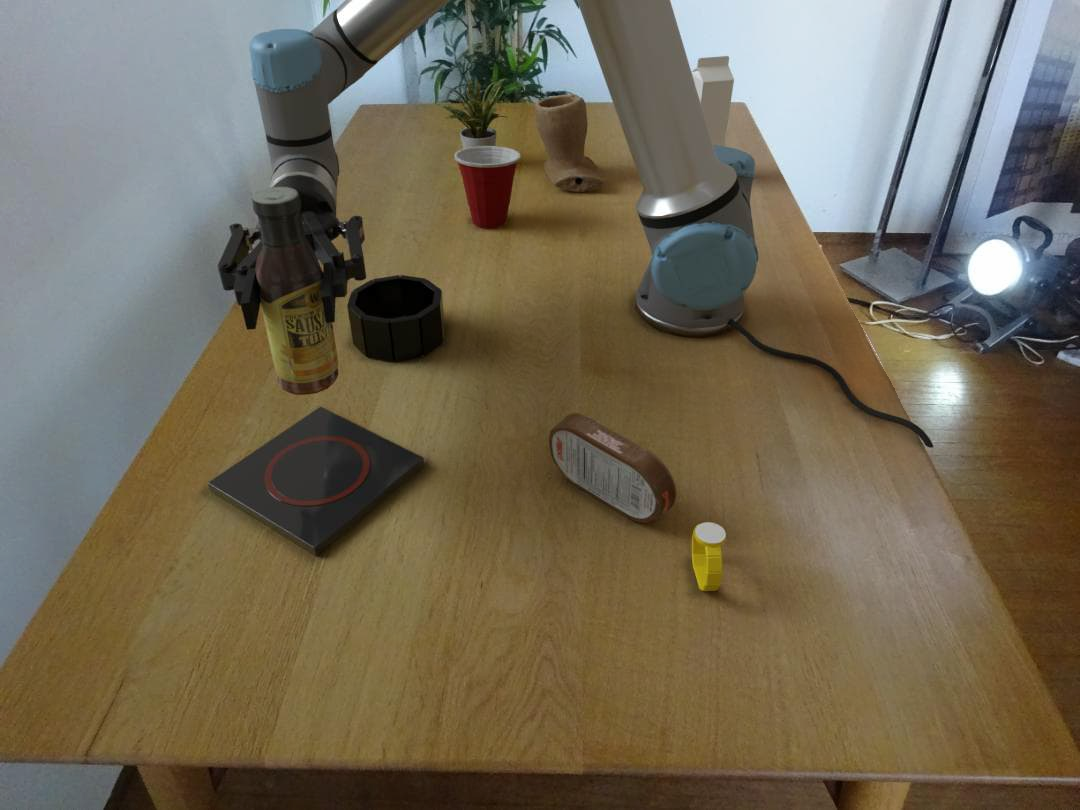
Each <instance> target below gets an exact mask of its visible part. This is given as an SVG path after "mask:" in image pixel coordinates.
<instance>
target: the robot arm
mask: <svg viewBox="0 0 1080 810" xmlns="http://www.w3.org/2000/svg"><path fill="white" fill-rule="evenodd" d="M451 1H452V0H345V1H343V2H342V3H340V5H339V6H338V7H337V8H336V9H335V10H333V11H332V12H331V13H330V14H329V15H327V16H326V17H325V18H324V19H323V20H322V21H321V22H320V23H319V24H318V25H317V26H315V27H314V28H313V29H312V30H310V31H307V30H305V29H299V28H282V29H281V28H278V29H270V30H268V31H264V32H260V33H257V34H255V35H254V36H253V37H252V38H251V40H250V41H249V55H250V63H251V76H252V80H253V82H254V87H255V91H256V96H257V100H258V101H257V102H258V106H259V110H260V114H261V120H262V124H263V129H264V134H265V138H266V139H265V140H266V144H267V151H268V155H269V161H270V164H271V176H270V181H269V186H268V188H271V187H289V188H293V189H295V190H296V191H297V192H298V194H299V197H300V202H301V210H300V214H301V220H302V226H303V230H304V232H305V238H306V240H307V242H308V243H309V245H310V246H311V247H312V249H313V250H314V252H315V255H316V257H317V259H318V261H319V263H321V266H323V268H322V271H323V282H322V302H323V308H324V314H325V319H326V323H332V324H333V323H335V322H336V299H337V298H345V297H346V296H347V295H348V282H349V280H351V279H354V281H357V282H361V281H364V280H366V279H367V271H366V264H365V258H364V257H365V256H364V252H363V251H364V250H363V246H362V245H363V243H364V241H365V239H366V237H365V230H364V222H363V217H362V216H361V215H353V216H351V217H350V218H349V220H344V221H340V220H339V218H338V217H337V206H338V201H337V200H338V181H339V176H340V162H339V157H338V154H337V151H336V149H335V146H334V139H333V132H332V125H331V117H330V112H329V104H331V103H332V102H333V101H335V100H336V99H337V98H338V97H339V96H341V94H342V93H344V92H345V91H346V90H347V89H349V87H351V86H352V85H354V84H355V83H356V82H358V81H359V80H361V79H362V78H363V77H364V76H365V74H366V73H367V72H368V71H370V70H371V69H373V67H374V66H376V65H377V64H378V63H379V62H380V61H382V59H384V57H386V56H388V54H389V53H391V52H392V51H393V50H394V49H395V48H397V47H398V46H399V45H400V44H401V43H402V42H405V40H406V39H407V38H408V37H410V36H411V35H412V34H413V33H414V32H416V31H417V30H418V29H419V28H420V27H421V26H423V25H424V24H425V23H426V22H428V21H429V20H430V19H431V18H432V17H434V16H435V15H436V14H437V13H439V11H441V10H442V9H443V8H444V7H446V6H447V5H449V4H450V2H451ZM576 1H577V4H578V7H579V10H580V13H581V17H582V19H583V22H584V25H585V28H586V30H587V34H588V36H589V38H590V41H591V44H592V47H593V50H594V53H595V55H596V59H597V62H598V64H599V67H600V70H601V73H602V75H603V78H604V82H605V85H606V87H607V89H608V93H609V95H610V99H611V101H612V105H613V107H614V109H615V112H616V115H617V118H618V121H619V124H620V127H621V130H622V132H623V136H624V138H625V140H626V143H627V146H628V150H629V151H630V155H631V157H632V160H633V163H634V166H635V170H636V172H637V175H638V178H639V180H640V183H641V186H642V191H641V194H640V196H639V197H638V198H637V201H636V203H635V208H636V212H637V215H638V218H639V220H640V223H641V226H642V230H643V232H644V235H645V237H646V240H647V244H648V246H649V249H650V253H651V259H650V261H649V263H648V266H647V268H646V270H645V271H644V274H643V276H642V277H641V281H640V283H639V284H638V285H637V286H638V287H637V289H636V293H635V303H634V307H635V311H636V313H637V315H638V316H639V317H640V318H641V320H643V321H644V322H645V323H646V324H648V325H650V326H651V327H653V328H655V329H657V330H660V331H662V332H665V333H668V334H672V335H676V336H682V337H683V336H684V337H689V338H690V337H691V338H692V337H693V338H697V337H699V338H701V337H703V338H704V337H711V336H713V337H714V336H717V335H721V334H724V333H727V332H729V331H732V330H733V329H735V330H736V331H737V332H739V334H741V335H742V336H743V337H745V338H746V339H747V340H748V341H749V342H750V343H751V344H752V345H753V346H755V347H756V348H757V349H760V350H761V351H763V352H765V353H768V354H771V355H774V356H777V357H781V358H785V359H791V360H795V361H800V362H804V363H805V362H806V363H809V364H812V365H814V366H817V367H819V368H821V369H823V370H825V372H827V373H828V374H830V375H831V376H832V377H833V378H834V380H835V381H836V382H837V383H838V385H839V387H840V389H841V390H842V392H843V393H844V395H845V396H846V398H847V399H848V400H849V401H850V402H851V404H853V406H855V407H856V408H858V409H859V410H860V411H861V412H863V413H865V414H868V415H869V416H872V417H874V418H877V419H881V420H884V421H888V422H892V423H895V424H898V425H901V426H903V427H906V428H907V429H910V430H911V431H912V432H914V433H915V434H916V435H917V436H918V437H919V438H920V440H921V441H922V442H923V444H924V446H926V447H928V448H930V449H932V448H934V444H933V443H932V440H931V438H930V437H929V435H928V434H927V433H926V432H925V431H924V430H923V429H922V428H921V427H919V425H917V424H915V423H914V422H912V421H910V420H908V419H906V418H903V417H900V416H897V415H893V414H890V413H886V412H882V411H879V410H877V409H874V408H872V407H869V406H868V405H866V404H864V402H862V401H861V400H860V399H858V398H857V397H856V396H855V395H854V393H853V392H852V390H851V389H850V387H849V385H848V384H847V382H846V380H845V379H844V378H843V376H842V375H841V374H840V373H839V372H838V371H837V370H836V369H835V368H834V367H833V366H831V365H829V364H827V363H826V362H824V361H822V360H821V359H817V358H815V357H812V356H808V355H804V354H799V353H794V352H789V351H784V350H780V349H777V348H774V347H772V346H771V347H770V346H768V345H766V344H764V343H762V342H760V341H759V340H758V339H757V338H756V337H755V336H754V335H753V334H752V333H750V331H748V330H747V329H746V328H744V327H743V326H742V325H741V324H740V323H741V321H742V320H743V316H744V311H745V296H744V293H745V292H746V291H747V290H748V289H749V288H750V286H751V284H752V283H753V281H754V278H755V275H756V272H757V266H758V262H759V251H758V247H757V244H756V238H755V231H754V223H753V216H752V207H751V196H752V195H751V194H752V188H753V182H754V179H755V178H756V174H755V170H756V161H755V159H754V157H753V156H752V155H751V154H750V153H748V152H746V151H743V150H741V149H738V148H734V147H729V146H725V145H724V146H716V145H713V144H712V140H711V137H710V133H709V130H708V127H707V123H706V120H705V117H704V113H703V110H702V106H701V103H700V100H699V96H698V93H697V89H696V86H695V83H694V79H693V76H692V73H691V71H692V69H691V66H690V63H689V59H688V56H687V53H686V49H685V46H684V42H683V39H682V35H681V33H680V29H679V25H678V21H677V19H676V16H675V15H676V14H675V11H674V8H673V5H672V2H671V0H576ZM229 231H230V237H229V240H228V241H227V244H226V246H225V248H224V249H223V252H222V254H221V257H220V260H219V261H218V263H217V270H218V274H219V277H220V281H221V286H222V288H223V290H224V291H229V292H231V291H233V294H234V297H235V301H236V304H237V305H238V306H240V308H241V312H242V316H243V320H244V324H245V327H246V328H245V329H246V330H248V331H249V330H256V329H257V325H258V318H259V313H260V308H261V302H260V297H259V286H258V282H257V278H256V271H255V268H256V262H257V257H258V255H259V253H260V251H261V250H262V247H263V243H262V240H261V230H260V225H259V221H258V223H257V224H256V226H255V227H251V228H249V227H246V226H245V227H243V225H242V224H241V223H237V222H236V223H232V224H231V225H229ZM340 235H341V236H342V239H344V240H345V241H346V242H345V243H346V244H347V245H348V249H349V256H350V257H349V258H350V259H345V256H344V251H341V252H340V251H339V249H338V248H337V246H335V245H334V243H333V241H334V240H335V239H337V238H338V237H339V236H340ZM258 240H259V242H258V244H256V245H255V246H253V245H254V244H255V242H256V241H258Z"/></svg>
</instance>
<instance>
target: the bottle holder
mask: <svg viewBox="0 0 1080 810" xmlns="http://www.w3.org/2000/svg"><path fill="white" fill-rule="evenodd" d="M346 308H347V314H348V319H349V325H350V333H351V337H352V338H351V339H352V344H353V346H354V347H355V348H356V349H357V350H358V351H359V352H360V353H362V355H364V357H366V358H368V359H372V360H377V361H378V360H379V361H385V362H389V363H394V362H395V363H400V362H404V361H410V360H415V359H421V358H423V357H426V356H428V355H429V354H430V353H432V352H433V351H435V350H436V349H437V348H439V347H441V346H442V345H443V343H444V339H445V331H446V326H445V315H444V312H445V311H444V301H443V290H442V289H441V288H439V287H438V286H437V285H435V284H434V283H433V282H431V280H429V279H427V278H425V277H420V276H419V277H418V276H411V275H406V274H405V275H404V274H401V275H399V274H395V275H390V276H383V277H377V278H373V279H370V280H368V281H366V282H364V283H363V284H361V285H360V286H357V287H356V288H354V289H352V291H351V292H350V295H349V297H348V301H347V305H346Z"/></svg>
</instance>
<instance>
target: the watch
mask: <svg viewBox="0 0 1080 810" xmlns="http://www.w3.org/2000/svg"><path fill="white" fill-rule="evenodd" d="M726 540H727V533H726V530H725V529H724V528H723V527H722V526H721V525H719V524H717V523H715V522H711V521H710V522H709V521H705V522H701V523H699V524H697V525H695V527H694V528H693V531H692V536H691V560H692V568H693V572H694V575H695V578H696V581H697V585H698V589H699V590H700V591H703V592H711V591H712V592H713V591H714V592H715V591H718V590H719V588H720V586H721V585H722V584H721V583H722V578H723V552H722V547H723V545H724V544H726V543H725V542H726Z"/></svg>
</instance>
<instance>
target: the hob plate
mask: <svg viewBox="0 0 1080 810" xmlns="http://www.w3.org/2000/svg"><path fill="white" fill-rule="evenodd" d="M424 467H425V458H424V457H423V456H421V455H419V454H417V453H415V452H413V451H411V450H409V449H407V448H405V447H403V446H401V445H399V444H397V443H396V442H393V441H391V440H389V439H387V438H385V437H383V436H381V435H379V434H377V433H375V432H373V431H372V430H369V429H366V428H365V427H363V426H361V425H359V424H357V423H355V422H353V421H351V420H348V419H347V418H344V417H343V416H341V415H338V414H336V413H335V412H333V411H331V410H328V409H326V408H324V407H322V406H318V407H317V408H316V409H315V410H313V411H311V412H310V413H309V414H308V415H306V416H304V417H303V418H301V419H300V420H298V421H296V423H294V424H292V425H290V426H289V427H288V428H286V429H285V430H283V431H282V432H280V433H279V434H278V435H276V436H274V437H273V438H272V439H269V441H268V442H265V443H264V444H263V445H262V446H260V447H258V448H257V449H255V450H254V451H253V452H251V453H249V454H248V455H246V456H245V457H244V458H242V459H241V460H239V461H237V462H236V463H235V464H233V465H231V466H230V467H228V468H227V469H225V471H223V472H221V473H220V474H218V475H217V476H215V477H214V478H212V479H211V480H210V481H208V482H207V486H208V488H209V491H210V492H211V493H213V494H214V495H216V496H217V497H219V498H221V499H222V500H224V501H226V502H227V503H229V504H231V505H232V506H234V507H236V508H237V509H239V510H240V511H242V512H244V513H245V514H247V515H249V516H250V517H252V518H253V519H255V520H257V521H258V522H259V523H261V524H264V526H266V527H268V528H270V529H271V530H273V531H275V532H276V533H278V534H280V535H281V536H282V537H284V538H286V539H288V540H289V541H291V542H293V543H294V544H296V545H297V546H298V547H301V548H302V549H303V550H305V551H307V552H308V553H310V554H312V555H313V556H315V557H317V556H318V555H319V554H321V553H322V552H323V551H324V550H325V549H327V548H328V547H329V546H330V545H332V544H333V543H334V542H335V541H336V540H337V539H339V538H340V537H341V536H342V535H344V533H346V532H347V531H348V530H350V529H351V528H352V527H353V526H354V525H355V524H357V523H358V522H359V521H360V520H361V519H362V518H364V517H365V516H366V515H368V514H369V513H370V512H371V511H372V510H373V509H375V508H376V507H377V506H378V505H379V504H380V503H382V502H383V501H385V499H387V497H389V496H390V495H391V494H393V492H395V491H396V490H397V489H398V488H399V487H401V486H402V485H403V484H405V483H406V482H407V481H408V480H409V479H410V478H411V477H412V476H414V475H415V474H416V473H418V472H419V471H420V470H421V469H422V468H424Z"/></svg>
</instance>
